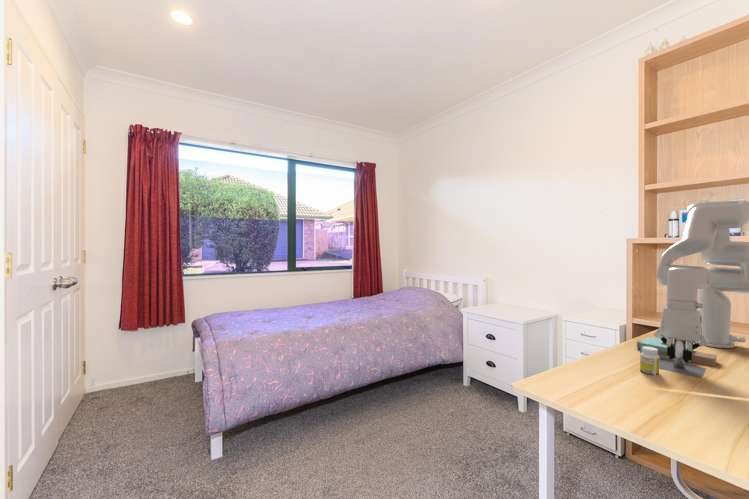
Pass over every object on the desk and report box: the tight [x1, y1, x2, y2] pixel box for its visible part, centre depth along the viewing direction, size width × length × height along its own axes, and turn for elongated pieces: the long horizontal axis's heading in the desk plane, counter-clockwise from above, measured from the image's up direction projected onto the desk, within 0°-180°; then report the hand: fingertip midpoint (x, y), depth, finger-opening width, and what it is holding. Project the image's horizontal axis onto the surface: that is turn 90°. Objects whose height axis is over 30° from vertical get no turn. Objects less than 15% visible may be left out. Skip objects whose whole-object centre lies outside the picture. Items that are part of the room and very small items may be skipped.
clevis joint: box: [636, 336, 718, 367], centre depth 125 cm, size 22×12×4 cm, turn 41°
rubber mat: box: [659, 357, 707, 379], centre depth 114 cm, size 12×12×1 cm
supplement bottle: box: [639, 346, 660, 376], centre depth 110 cm, size 5×5×8 cm
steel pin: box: [672, 339, 687, 369], centre depth 113 cm, size 3×3×10 cm
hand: (679, 359), depth 114 cm, fingers open, 3 cm apart
